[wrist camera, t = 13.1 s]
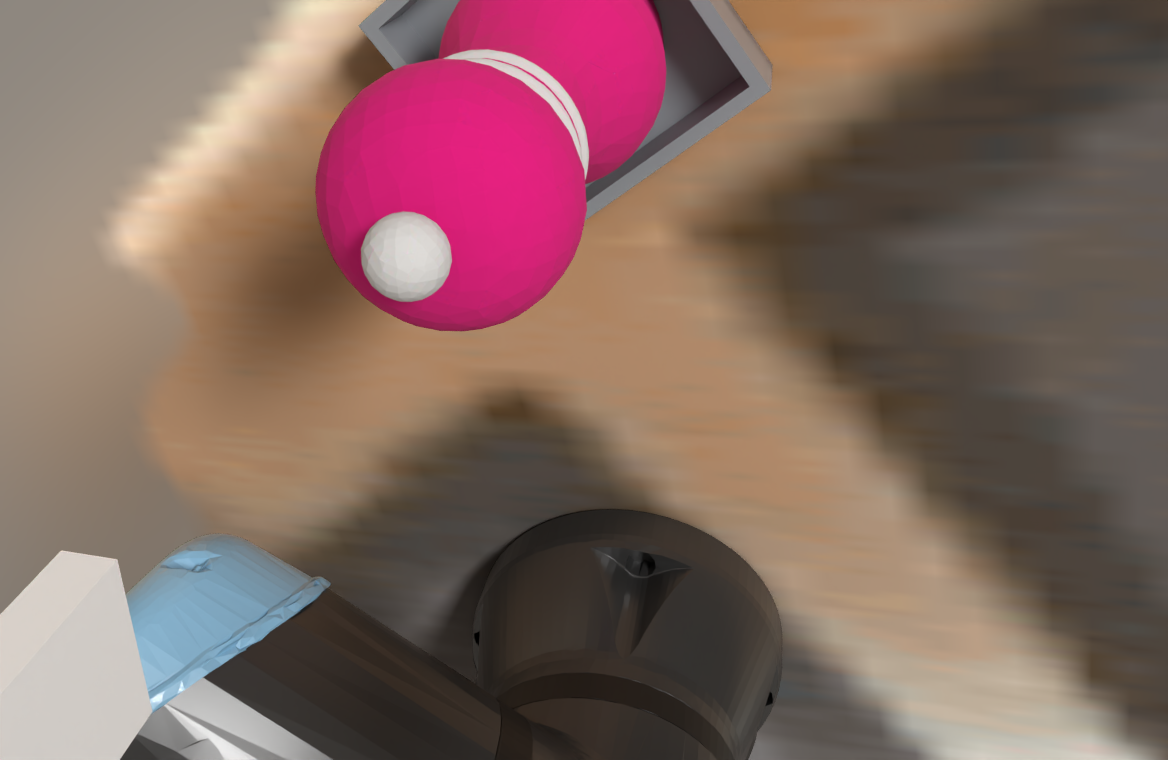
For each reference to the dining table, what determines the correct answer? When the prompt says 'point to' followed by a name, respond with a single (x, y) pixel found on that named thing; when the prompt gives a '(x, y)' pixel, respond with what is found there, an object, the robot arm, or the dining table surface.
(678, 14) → the tray
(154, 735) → the robot arm
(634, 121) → the pepper mill
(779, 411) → the dining table surface
